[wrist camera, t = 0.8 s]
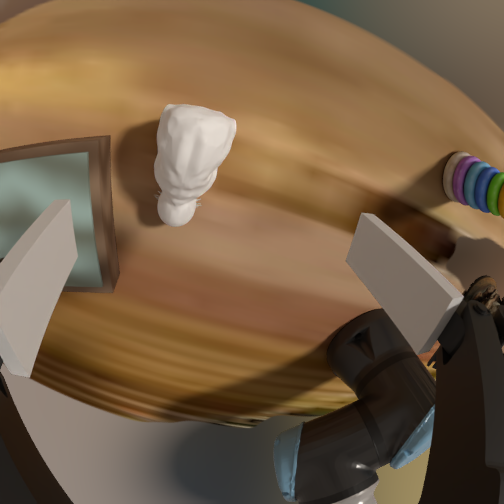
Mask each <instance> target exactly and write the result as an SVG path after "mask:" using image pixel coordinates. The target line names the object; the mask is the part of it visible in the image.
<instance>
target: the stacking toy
mask: <svg viewBox="0 0 504 504" xmlns="http://www.w3.org/2000/svg"><path fill="white" fill-rule="evenodd" d="M443 186H444V190H445V193H446V195H447V196H448V198H449V199H451V200H452V201H454V202H460V203H461V204H463V205H469V206H470V207H472V208H474V209H480V210H481V211H482V212H485V213H489V212H491V213H492V214H493V215H496V216H500V215H501V216H502V218H504V173H503V172H501V173H500V172H499V170H498V169H496V168H494V167H490V166H489V164H487V163H485V162H482V161H480V160H479V159H478V158H477V157H474V156H471V155H470V154H468V153H466V152H457V153H455V154H454V155H452V156H451V158H450V159H449V160H448V162H447V164H446V167H445V169H444V174H443Z"/></svg>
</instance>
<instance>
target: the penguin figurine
mask: <svg viewBox="0 0 504 504" xmlns="http://www.w3.org/2000/svg"><path fill="white" fill-rule="evenodd" d="M235 133H236V121H235V119H232V118H229V117H227V116H225V115H224V114H223V113H222V112H219V111H214V110H210V109H208V108H205V107H202V106H193V105H187V104H180V105H172V104H168V105H167V106H166V107H165V108H164V110H163V112H162V114H161V117H160V123H159V127H158V131H157V146H158V154H157V157H156V160H155V163H154V174H155V179H156V181H157V183H158V185H159V186H160V188H161V190H162V192H161V193H160V192H159V191H158V190H157V191H158V192H159V193H160V194H161V195H160V196H158V195H156V194H155V195H156V196H158V197H156V196H154V195H153V196H154V197H156V198H158V199H157V200H158V205H157V209H158V214H159V217H160V218H161V220H162V221H163V222H164V223H165V224H167V225H169V226H172V227H178V226H182V225H184V224H186V223H187V222H189V221H190V219H191V218H192V217H193V215H194V212H195V208H196V206H202V205H196V204H201V203H196V201H198V200H200V199H198V200H196V198H197V197H199V196H201V195H202V194H203V193H205V192H206V191H207V190H209V188H210V187H211V186H212V184H213V182H214V181H215V179H216V175H217V168H218V167H219V166H220V165H221V163H222V161H223V160H224V159H225V158H226V156H227V155H228V153H229V151H230V148H231V145H232V141H233V139H234V136H235Z"/></svg>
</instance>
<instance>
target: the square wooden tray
mask: <svg viewBox="0 0 504 504" xmlns="http://www.w3.org/2000/svg"><path fill="white" fill-rule="evenodd" d="M62 199H70V203H71V212H72V220H73V228H74V235H75V242H76V248H77V254H78V258H77V260H76V262H75V264H74V266H73V268H72V270H71V272H70V274H69V276H68V278H67V280H66V283H65V285H64V287H63V289H62V291H67V292H95V293H113V292H114V289H115V286H116V283H117V280H118V277H119V274H120V271H119V264H118V256H117V248H116V240H115V230H114V219H113V206H112V190H111V163H110V135H109V136H96V137H84V138H74V139H66V140H57V141H50V142H43V143H36V144H30V145H24V146H19V147H13V148H8V149H3V150H0V259H1V258H5V256H6V255H7V254H8V253H9V251H10V250H11V249H12V248H13V246H14V245H15V244H16V243H17V241H18V240H19V239H20V238H21V236H22V235H23V234H24V233H25V232H26V231H27V229H28V228H29V227H30V226H31V225H32V224H33V223H34V221H35V220H36V219H37V218H38V217H39V216H40V215H41V214H42V213H43V212H44V210H45V209H46V208H47V207H48V206H49V205H50V204H51V203H52V202H53V201H54V200H62Z"/></svg>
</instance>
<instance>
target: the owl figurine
mask: <svg viewBox="0 0 504 504" xmlns="http://www.w3.org/2000/svg"><path fill="white" fill-rule="evenodd" d="M497 293H498V290H497V289H496V282H495V281H494V280H493V279H492V278H491V277H490V276H487V275H486V276H481V277H479V278H478V279H476V280H475V281H474V283H472V284H471V287H469V289H468V291H467V293H466V294H465V295H464V298H463V299H464V300H465V302H466V303H468V301H470V300H476V301H478V302H480V301H481V300H483V299H484V300H483V301H482V302H481V303H482V304H484V305H485V306H486V307H487V308H488V309H489V310H490V312H491V314H495V312H496V310H497V309H498V307H499V306H500V305H504V297H503V298H502V301H501V300H500V296H499V294H497Z"/></svg>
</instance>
